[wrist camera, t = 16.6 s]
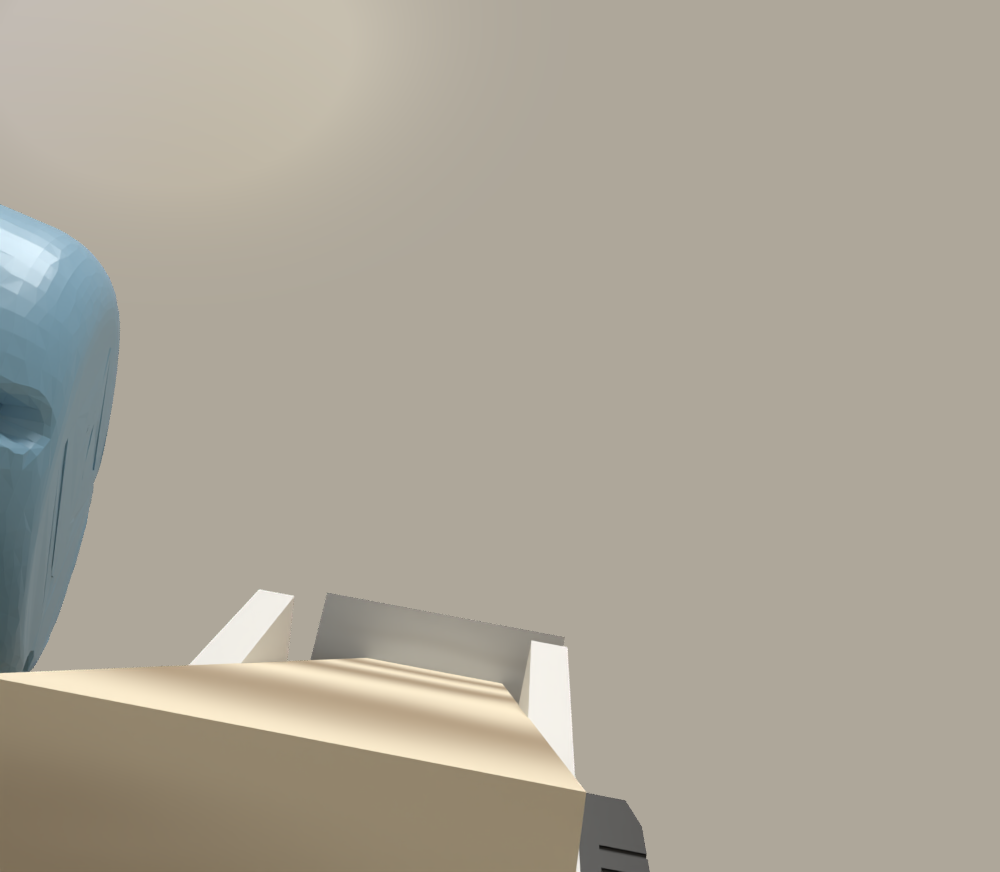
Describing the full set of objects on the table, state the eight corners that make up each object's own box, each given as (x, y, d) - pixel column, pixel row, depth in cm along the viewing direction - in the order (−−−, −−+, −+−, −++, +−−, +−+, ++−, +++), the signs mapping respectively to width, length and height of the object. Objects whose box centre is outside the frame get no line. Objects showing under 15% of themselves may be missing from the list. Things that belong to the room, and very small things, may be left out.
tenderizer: (807, 1810, 4) (846, 585, 6) (-674, 1470, 4) (-153, 401, 6) (520, 800, 32) (545, 640, 34) (324, 762, 32) (361, 606, 34)
